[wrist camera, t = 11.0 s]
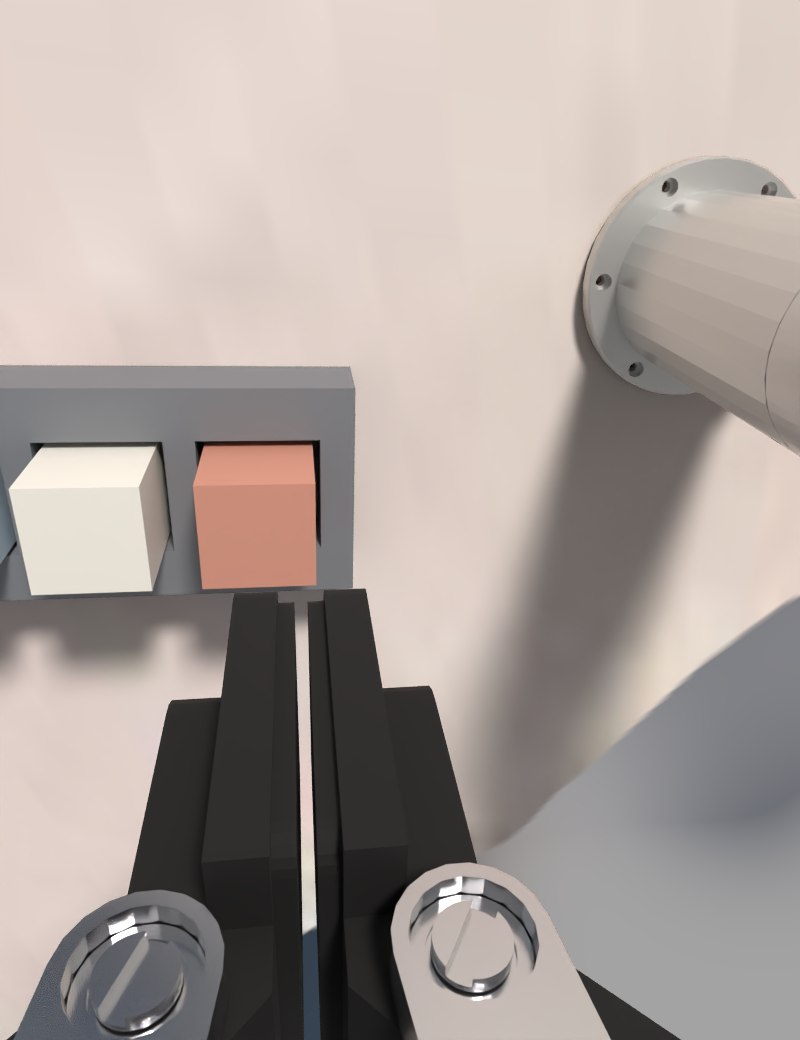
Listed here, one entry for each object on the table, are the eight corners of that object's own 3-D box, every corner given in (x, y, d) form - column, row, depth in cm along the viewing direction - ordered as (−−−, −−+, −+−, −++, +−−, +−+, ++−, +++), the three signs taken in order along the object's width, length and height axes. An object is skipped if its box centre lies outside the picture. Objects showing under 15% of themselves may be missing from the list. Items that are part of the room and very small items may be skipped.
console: (349, 366, 42) (355, 388, 38) (347, 554, 47) (352, 588, 44) (-160, 365, 38) (-206, 388, 35) (-99, 567, 44) (-133, 605, 40)
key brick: (311, 434, 41) (315, 483, 35) (313, 525, 43) (316, 585, 38) (206, 435, 40) (192, 485, 34) (214, 528, 43) (202, 589, 37)
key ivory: (160, 436, 40) (138, 486, 34) (170, 529, 42) (152, 591, 37) (49, 437, 39) (8, 489, 33) (66, 531, 42) (31, 595, 36)
